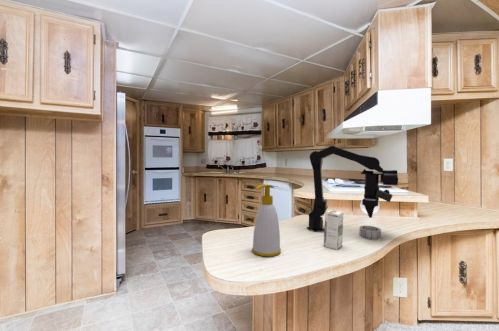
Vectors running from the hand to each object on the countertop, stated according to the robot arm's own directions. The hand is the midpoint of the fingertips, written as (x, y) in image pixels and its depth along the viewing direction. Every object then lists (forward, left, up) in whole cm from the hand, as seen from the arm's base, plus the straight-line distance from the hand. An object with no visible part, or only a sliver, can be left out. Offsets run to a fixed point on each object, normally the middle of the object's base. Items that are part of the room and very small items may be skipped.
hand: (370, 217), depth 113 cm
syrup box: (-25, -2, -9) cm, 27 cm away
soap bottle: (-53, +5, -9) cm, 54 cm away
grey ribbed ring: (0, 0, -9) cm, 9 cm away
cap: (0, 0, -9) cm, 9 cm away
